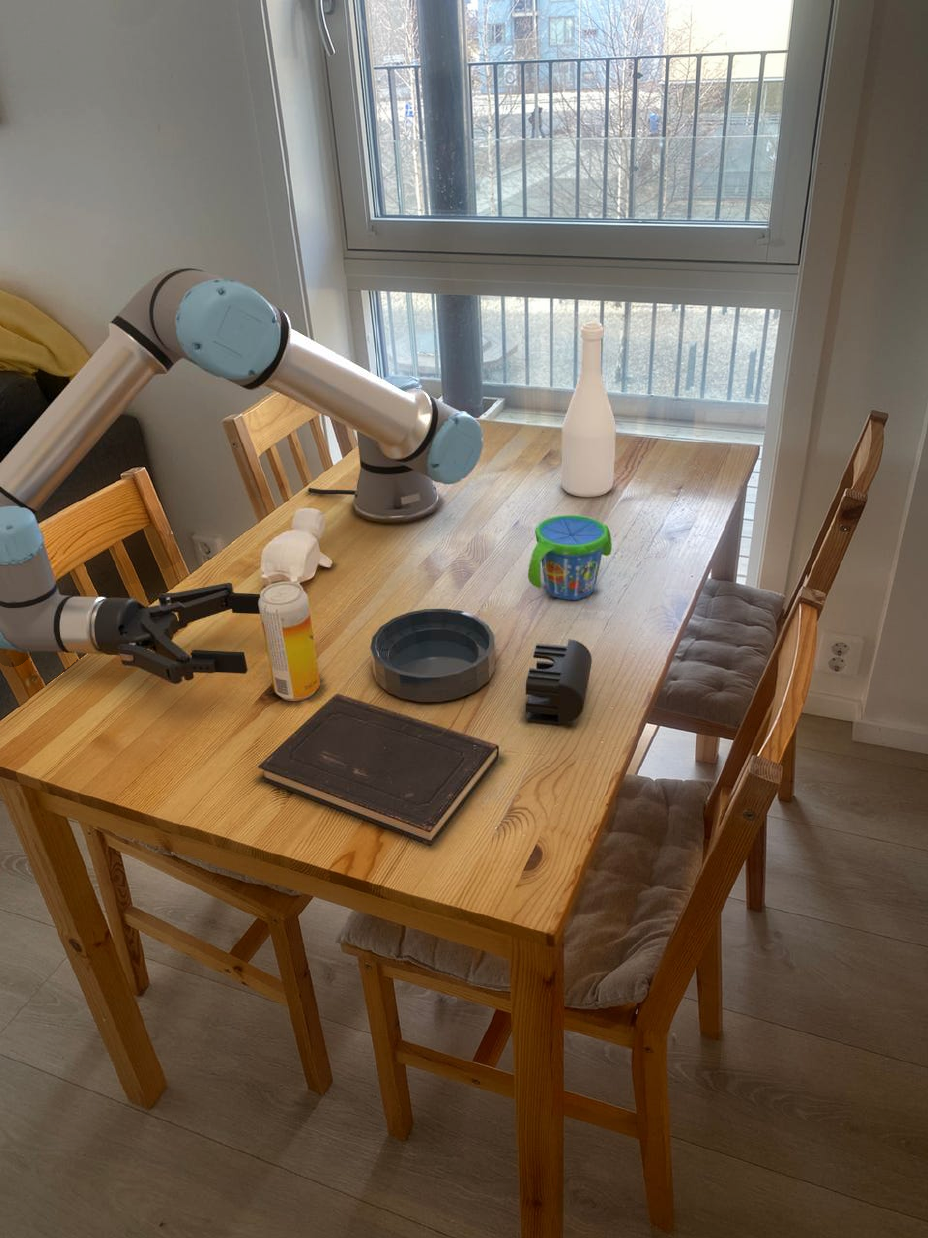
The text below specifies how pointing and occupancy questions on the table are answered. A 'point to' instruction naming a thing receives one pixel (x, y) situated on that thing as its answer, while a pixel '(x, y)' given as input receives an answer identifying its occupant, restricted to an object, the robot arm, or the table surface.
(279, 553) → the white animal figurine
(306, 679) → the beer can
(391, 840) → the table surface
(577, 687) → the end cap
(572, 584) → the snack cup
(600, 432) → the wine bottle
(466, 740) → the hardcover book
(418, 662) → the bowl
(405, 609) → the table surface
